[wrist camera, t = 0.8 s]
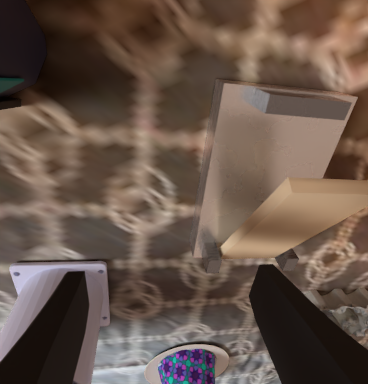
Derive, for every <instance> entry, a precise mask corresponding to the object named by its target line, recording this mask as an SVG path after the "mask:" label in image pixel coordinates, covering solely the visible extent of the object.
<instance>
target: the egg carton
mask: <svg viewBox="0 0 368 384" xmlns="http://www.w3.org/2000/svg"><path fill="white" fill-rule="evenodd" d="M305 296H306V297H307V298H308V299H309V300H310V301H311V302H312V303H313V304H314V305H315V306H316V307H318V308H319V309H320V310H321V311H322V310H328V311H329V312H330V313H332V314H333V315H334V316H328V317H329V318H330V319H331V320H332V321H333V322H334V323H335V324H337V325H338V326H339V327H340V328H341V329H342V330H343V331H345V332H346V333H347V334H348V335H349V336H350V335H351V334H354V335H355V336H356V337H357V336H365V332H364V331H365V330H366V329H368V291H367V290H366V289H365V288H358V289H357V290H356V291H354V292H352V293H350V294H346V295H345V293H344V292H343V291H342V289H334V290H333V291H332V292H330V293H329V294H327V295H323V296H320V294H319V293H318V291H317V290H309V291H308V292H307V293H306V294H305ZM352 309H353V310H354V311H353V310H352Z"/></svg>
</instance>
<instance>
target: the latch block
mask: <svg viewBox="0 0 368 384" xmlns="http://www.w3.org/2000/svg"><path fill="white" fill-rule="evenodd" d="M357 98H358V97H355V96H351V95H347V94H344V93H340V92H334V91H325V90H315V89H306V88H297V87H288V86H279V85H269V84H260V83H251V82H242V81H233V80H223V79H216V81H215V87H214V93H213V99H212V106H211V112H210V118H209V124H208V131H207V137H206V143H205V149H204V155H203V162H202V168H201V174H200V180H199V186H198V193H197V199H196V205H195V211H194V217H193V224H192V230H191V236H190V246H191V250H192V255H193V258H202V259H203V262H204V266H205V270H206V273H219V269H220V265H221V261H222V260H221V257H220V254H219V251H218V249H219V248H220V247H221V246H222V245H223V244H224V243H225V242H226V241H227V240H228V238H229V237H230V236H231V235H232V234H233V233H234V232H235V231H236V230H237V229H238V228H239V227H240V226H241V225H242V224H243V223H244V222H245V221H246V220H247V219H248V218H249V217H250V216H251V215H252V214H253V213H254V212H255V211H256V210H257V209H258V208H259V207H260V205H261V204H262V203H263V202H264V201H265V200H266V199H267V198H268V197H269V196H270V195H271V194H272V193H273V192H274V191H275V190H276V189H277V188H278V187H279V186H280V185H281V184H282V183H283V182H284V181H285V180H286V179H287V178H288V177H293V178H318V179H322V178H323V176H324V173H325V171H326V169H327V167H328V164H329V162H330V160H331V157H332V155H333V153H334V151H335V148H336V146H337V144H338V141H339V139H340V137H341V135H342V132H343V130H344V128H345V126H346V123H347V121H348V119H349V116H350V114H351V112H352V110H353V107H354V105H355V103H356V101H357ZM275 259H276V261H277V263H278V264H279V266H280V268H281V269H282V271H293V270H294V268H295V266H296V264H297V262H298V260H299V258H298V257H297V255H296V254H295V252H294V251H293V249H292V248H291V249H289V250H287V251H286V252H284V253H282V254H280V255H278V256H276V257H275Z"/></svg>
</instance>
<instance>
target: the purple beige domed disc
mask: <svg viewBox="0 0 368 384" xmlns="http://www.w3.org/2000/svg"><path fill="white" fill-rule="evenodd" d="M191 348H200V349H195V350H192V351H190V350H184V349H191ZM203 349H206V350H209V351H211V352H213V353H214V354H215V356H216V363H215V356H214V355H213V354H212V353H206V351H205V350H203ZM180 350H181V351H180ZM177 351H178V352H177ZM174 352H176V353H175V354H174V355H173V356H168V355H170V354H172V353H174ZM166 356H168V357H166ZM165 357H166V358H165ZM163 358H164V359H163ZM162 359H163V360H162ZM161 360H162V361H161ZM160 361H161V363H162V365H161V366H159V367H158V364H159V363H160ZM228 364H229V356H228V354H227V353H226V352H225V351H224V350H223V349H221V348H219V347H216V346H212V345H204V344H194V345H186V346H181V347H177V348H174V349H170V350H168V351H166V352H163V353H161V354H160V355H158V356H156V357H155V358H154V359H152V360H151V361H150V362H149V363H148V364H147V366H146V368H145V371H144V376H145V378H146V380H147V381H148V382H149V383H151V384H215V378H216V377H217V376H219V375H220V374H221V373H222V372H223V371H224V370H225V369H226V368H227V366H228Z"/></svg>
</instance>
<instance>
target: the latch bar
mask: <svg viewBox="0 0 368 384" xmlns="http://www.w3.org/2000/svg"><path fill="white" fill-rule="evenodd" d="M367 206H368V180H343V179H318V178H293V177H288V178H287V179H286V180H285V181H284V182H283V183H282V184H281V185H280V186H279V187H278V188H277V189H276V190H275V191H274V192H273V193H272V194H271V195H270V196H269V197H268V198H267V199H266V200H265V201H264V202H263V203H262V204H261V205H260V207H259V208H258V209H257V210H256V211H255V212H254V213H253V214H252V215H251V216H250V217H249V218H248V219H247V220H246V221H245V222H244V223H243V224H242V225H241V226H240V227H239V228H238V229H237V230H236V231H235V232H234V233H233V234H232V235H231V236H230V237H229V238H228V240H227V241H226V242H225V243H224V244H223V245H222V246H221V247H220V248H219V249H218V251H219V254H220V257H221V259H243V258H275V257H276V256H278V255H280V254H282V253H284V252H286V251H287V250H289V249H291V248H293V247H295V246H296V245H298V244H300V243H302V242H304V241H306V240H307V239H309V238H311V237H313V236H315V235H316V234H318V233H320V232H322V231H324V230H326V229H327V228H329V227H331V226H333V225H335V224H337V223H338V222H340V221H342V220H344V219H346V218H347V217H349V216H351V215H353V214H355V213H357V212H358V211H360V210H362V209H364V208H366V207H367Z"/></svg>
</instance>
